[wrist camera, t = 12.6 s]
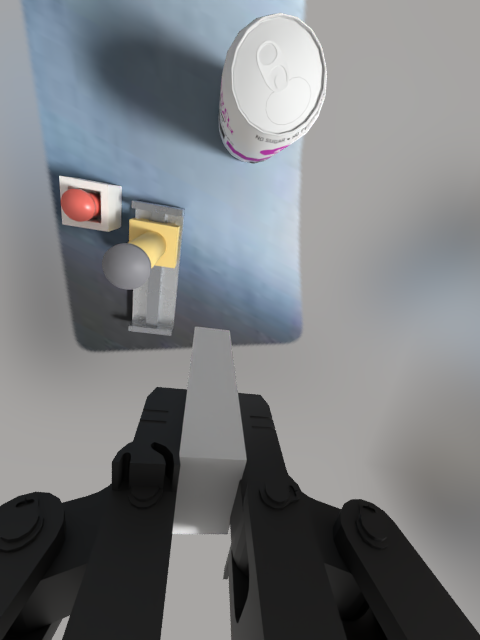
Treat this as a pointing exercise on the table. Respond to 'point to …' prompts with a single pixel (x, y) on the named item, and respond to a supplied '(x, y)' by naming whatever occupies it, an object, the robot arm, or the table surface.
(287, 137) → the supplement can
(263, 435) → the robot arm
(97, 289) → the table surface
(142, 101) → the table surface
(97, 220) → the white button housing
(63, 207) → the button
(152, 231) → the sliding lever handle
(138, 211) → the rail
